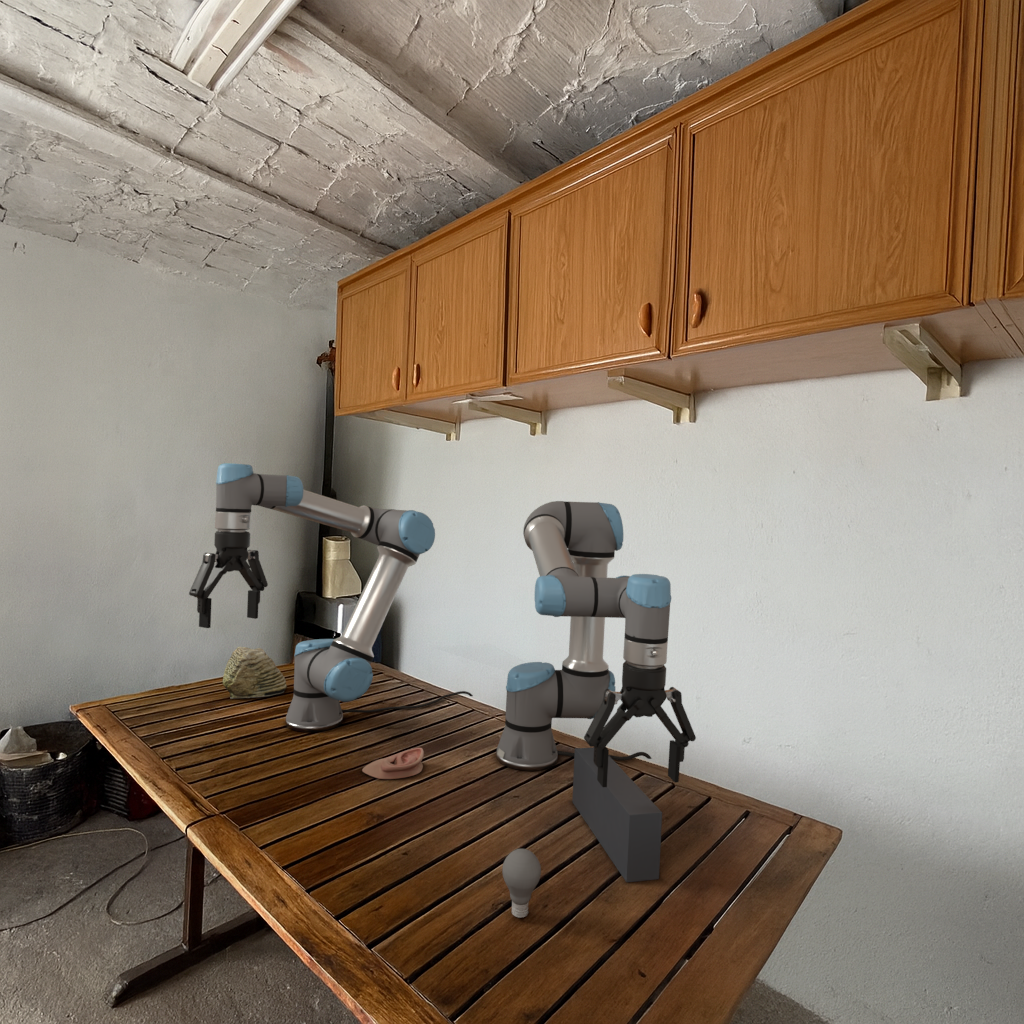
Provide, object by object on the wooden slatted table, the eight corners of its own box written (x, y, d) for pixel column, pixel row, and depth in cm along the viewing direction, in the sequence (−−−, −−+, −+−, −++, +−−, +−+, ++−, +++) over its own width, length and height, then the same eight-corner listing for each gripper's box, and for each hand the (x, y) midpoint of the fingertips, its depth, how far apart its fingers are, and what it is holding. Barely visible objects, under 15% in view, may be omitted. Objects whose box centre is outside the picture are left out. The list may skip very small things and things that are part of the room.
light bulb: (499, 902, 101) (501, 840, 101) (536, 902, 101) (539, 840, 101) (501, 928, 95) (504, 862, 95) (541, 927, 95) (544, 862, 95)
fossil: (218, 695, 195) (220, 647, 195) (278, 685, 208) (279, 640, 207) (228, 703, 189) (230, 653, 188) (289, 692, 201) (290, 645, 201)
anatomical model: (356, 758, 144) (377, 740, 155) (356, 775, 144) (376, 756, 155) (412, 766, 141) (429, 746, 152) (411, 783, 141) (428, 763, 153)
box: (572, 802, 136) (574, 748, 136) (598, 800, 138) (601, 746, 137) (626, 882, 108) (629, 814, 108) (659, 879, 110) (662, 812, 109)
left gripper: (198, 533, 133) (194, 633, 133) (284, 530, 156) (281, 616, 156) (173, 531, 136) (169, 629, 136) (261, 528, 159) (258, 612, 159)
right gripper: (584, 670, 105) (578, 796, 106) (719, 667, 111) (712, 786, 111) (570, 658, 112) (564, 775, 113) (698, 656, 118) (691, 767, 119)
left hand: (229, 622), depth 146 cm, fingers open, 13 cm apart
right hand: (638, 781), depth 112 cm, fingers open, 13 cm apart
